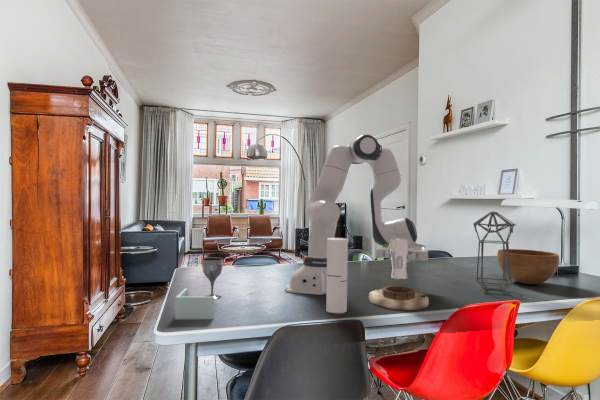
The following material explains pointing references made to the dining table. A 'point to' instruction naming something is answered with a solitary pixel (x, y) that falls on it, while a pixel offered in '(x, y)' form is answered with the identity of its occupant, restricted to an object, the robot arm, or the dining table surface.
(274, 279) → the dining table surface
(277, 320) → the dining table surface
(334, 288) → the cylindrical container
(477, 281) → the geometric lantern
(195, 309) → the right angle wall
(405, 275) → the beer glass
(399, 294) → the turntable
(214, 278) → the wine glass
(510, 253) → the bowl
